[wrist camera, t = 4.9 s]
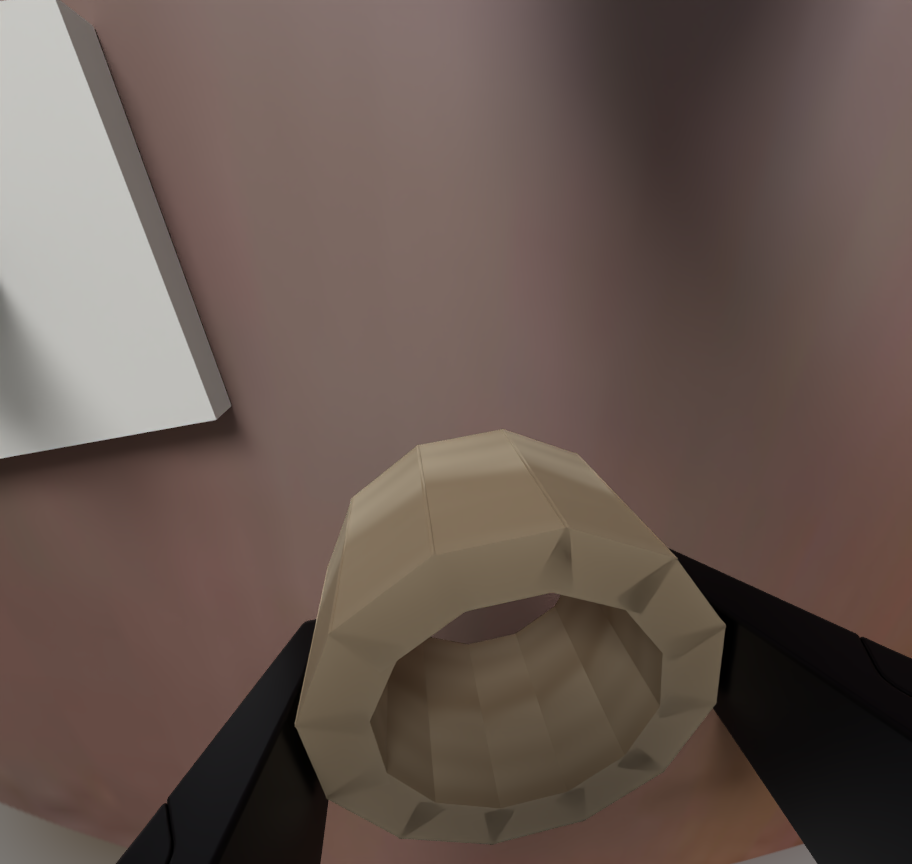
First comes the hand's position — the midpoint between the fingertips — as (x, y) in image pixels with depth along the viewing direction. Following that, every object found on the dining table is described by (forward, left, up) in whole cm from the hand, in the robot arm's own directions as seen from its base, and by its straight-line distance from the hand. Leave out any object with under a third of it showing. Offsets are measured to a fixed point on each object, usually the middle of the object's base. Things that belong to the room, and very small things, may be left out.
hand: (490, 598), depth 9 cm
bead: (0, 0, -1) cm, 1 cm away
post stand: (+13, -8, -9) cm, 18 cm away
